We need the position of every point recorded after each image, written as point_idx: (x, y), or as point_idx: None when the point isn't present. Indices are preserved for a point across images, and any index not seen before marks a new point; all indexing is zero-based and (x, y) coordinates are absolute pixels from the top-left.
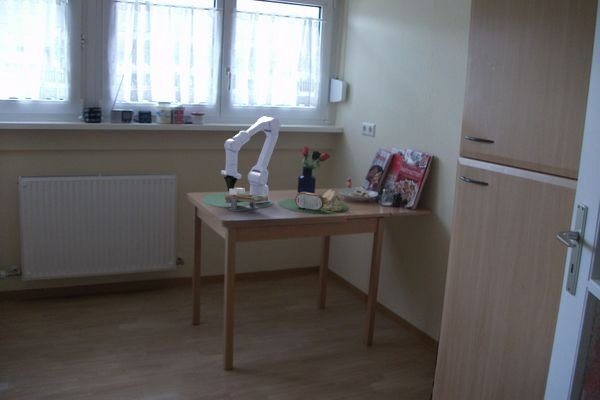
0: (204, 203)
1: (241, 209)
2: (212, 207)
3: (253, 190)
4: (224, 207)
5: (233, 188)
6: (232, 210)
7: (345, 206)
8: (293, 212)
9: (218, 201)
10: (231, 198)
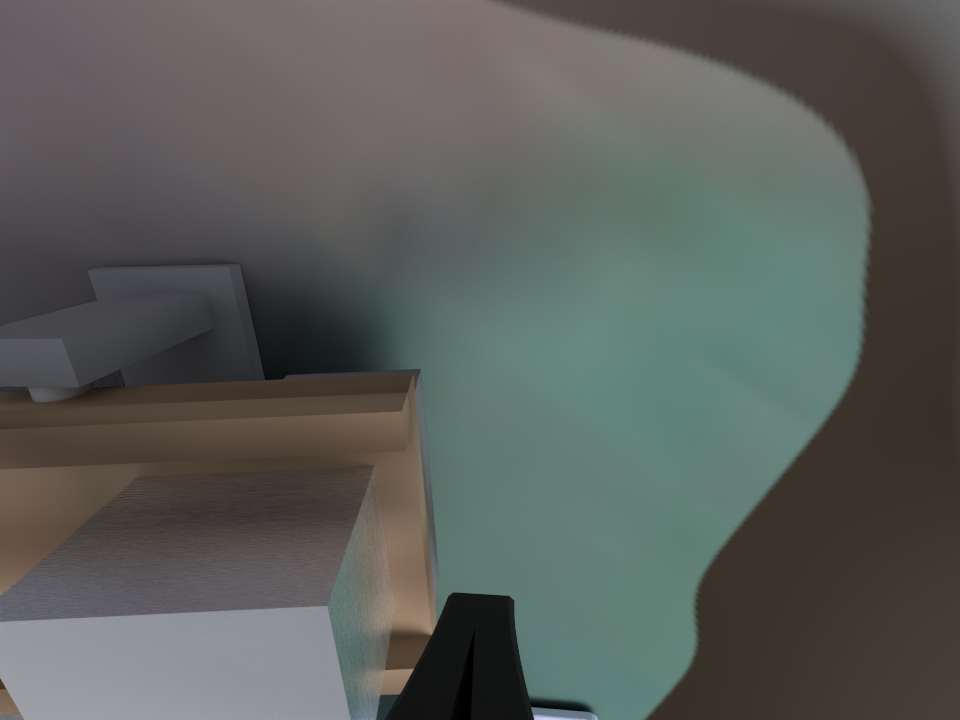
0: (788, 145)
1: (126, 383)
2: (445, 101)
3: None
4: (378, 289)
5: (251, 667)
6: (147, 267)
7: None
8: (17, 715)
9: (764, 442)
10: (191, 396)
